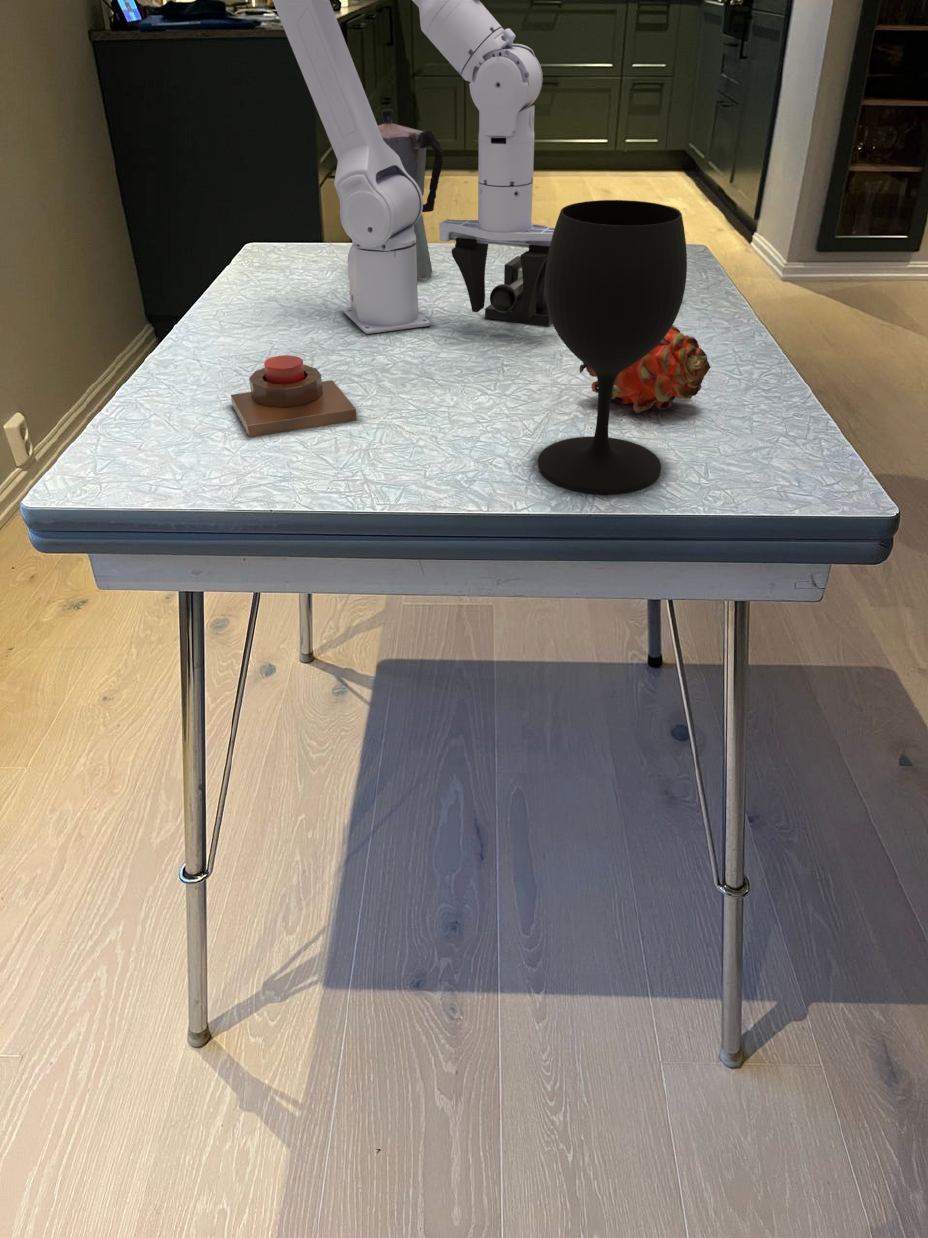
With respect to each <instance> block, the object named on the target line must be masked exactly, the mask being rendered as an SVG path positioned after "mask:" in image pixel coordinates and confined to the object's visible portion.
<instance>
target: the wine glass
mask: <svg viewBox="0 0 928 1238" xmlns="http://www.w3.org/2000/svg"><path fill="white" fill-rule="evenodd" d="M669 206H670V205H665V204H661V203H657V202H656V203H655V202H649V201H641V200H627V199H601V200H600V199H598V200H587V201H580V202H575V203H572V204H568V205H565V206H563V207H562V208H561V209H560V211H559V214H558V217H557V219H556V223H555V226H554V228H555V229H554V232H553V236H552V240H551V243H550V247H549V252H548V257H547V263H546V272H545V296H546V303H547V308H548V312H549V315H550V318H551V321H552V323H551V325H552V326H553V328H554V330H555V332H556V335H558V337H559V338H560V340H561V341H562V342H563V344H564V345H565V346H566V348H568V350H569V351H570V352H571V353H572V354H573V355H574V356H575V357H576V358H577V359H579V360H580V361H581V362H582V364H583V363H585V364H586V365H587V366H588V367H590V368H591V369H592V370H593V371H594V372H595V373H596V376H597V377H596V379H597V380H596V381H598V393H597V412H596V413H597V414H596V422H595V423H596V424H595V431H594V436H577V437H571V438H566V439H562V440H559V441H556V442H554V443H551V444H550V445H548V446H546V447H545V448H544V449H543V450H542V451H541V452H539V455H538V457H537V468H538V470H539V472H540V473H541V474H542V475H543V477H544V478H546V479H547V480H548V481H550V482H551V483H553V484H555V485H558V486H560V487H562V488H565V489H568V490H570V491H571V490H572V491H576V492H581V493H586V494H587V493H588V494H596V495H597V494H598V495H616V494H624V493H630V492H635V491H639V490H641V489H644V488H646V487H648V486H650V485H652V484H653V483H655V481H657V480H658V478H659V477H660V475H661V473H662V463H661V461H660V459H659V457H658V456H657V454H656V453H654V452H653V451H651V450H650V449H648V447H647V448H646V447H645V446H643V445H641V444H638V443H636V442H633V441H630V440H626V439H621V438H616V437H609V424H610V423H609V422H610V411H611V410H610V409H611V403H612V402H611V401H612V398H611V396H612V391H613V386H614V382H615V379H616V377H617V375H618V374H619V373H620V372H621V371H623V370H624V369H626V368H628V367H630V366H631V365H633V364H634V363H636V362H637V361H639V360H640V359H642V358H643V357H645V356H646V355H647V354H648V353H649V352H651V351H652V350H653V349H654V348H655V347H656V346H657V345H658V344H659V343H660V342H661V341H662V339H663V338H664V337H665V336H666V334H667V333H668V332H669V330H670V329H671V327H672V325H673V326H674V323H675V321H676V319H677V317H678V314H679V312H680V309H681V306H682V304H683V300H684V295H685V291H686V283H687V273H688V253H687V240H686V239H687V238H686V232H685V226H684V219H683V214H682V212H681V210H679V209H678V208H677V209H678V210H679V211H678V210H677V209H675V208H676V207H674V208H672V207H673V206H670V207H669Z"/></svg>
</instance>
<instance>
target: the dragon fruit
mask: <svg viewBox="0 0 928 1238" xmlns="http://www.w3.org/2000/svg"><path fill="white" fill-rule="evenodd" d="M711 368H712V366H711V365H710V362H709V361H708V355H707V353H706V352H705V351H704V350H703V348H701V347H700V345H699V342H698V340H697V338H695V337H694V336H689V335H688V334H686V335H685V334H684V333H683V332H681V330H680V329H679V328H678V327H676V326H675V325H674V324H673V325H672V327H671V329H670V330H669V332H668V333H667V334H666V336H665V337H664V338H663V339H662V341H661V342H660V343H659V344H658V345H657V346H656V347H655V348H654V349H653V350H652V351H651V352H649V353H648V354H647V355H646V356H645V357H643V358H642V359H640V360H639V361H637V362H636V363H634V364H633V365H631V366H630V367H628V368H626V369H624V370H623V371H621V372H620V373H619V374H618V375H617V377H616V379H615V382H614V386H613V391H612V396H611V399H612V400H613V399H614V400H616V401H617V402H619V403H620V404H621V405H622V404H623V405H628V404H632V406H633V407H632V409H633V411H634V413H636V414H640V413H642V412H644V411H648V410H650V409H651V408H652V407H653V405H654V406H655V408H657V410H660V411H661V410H668V409H669V408H671V407H672V406H673V404H674V400H675V399H680V400H685V401H686V400H690V399H692V398H693V397H694V396H696V395H697V394H698V393H699V392H700V391H701V389H702V383H703V381H704V379H705V376H707V374H708V372H709V371H710V369H711ZM585 369H586V370H585ZM584 370H585V371H587V373H588V374H589V376H591V377H593V378H597V376H596V373H595V372H594V371H593V370H592V369H591V368H590V367H588V366H587V365H586V364H585V363H583V362H582V364H580V366H579V374H582V373H584ZM591 390H592V392H594V393H595V394H596V395H598V381H597V380H596V381H593V382H592V383H591Z"/></svg>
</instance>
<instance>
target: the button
mask: <svg viewBox="0 0 928 1238" xmlns="http://www.w3.org/2000/svg"><path fill="white" fill-rule="evenodd" d="M303 365H304V360H303V358H301V357H299V356H297V355H289V354H288V355H286V354H285V355H276V356H272V357H269V358H267V359H266V360H265V361H264V362H263V368H265V375H266V381H267V382H269V383H272V384H291V383H297V382H300V381H302V380H304V379H305V375H304V366H303Z"/></svg>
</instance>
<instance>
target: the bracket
mask: <svg viewBox="0 0 928 1238" xmlns="http://www.w3.org/2000/svg"><path fill="white" fill-rule="evenodd" d="M521 267H522V265H521V255H517V256H515V257H514V258H512V259H510V260H509V261H508V262H506V263H505V264H504V267H503V271H504V272H503V273H504V274H503V275H504V277H503V284H507V285H509V286H510V285H511V284H512V283H514V282H515V281H516V280H518V269H520V268H521ZM522 302H523V292H521V293H520V294H519V295H518V296H517V300H516V304H515V306H514V307H513V308H512V309H511V310H510V311H508V312H498V311H496V310H495V309H494V308H493V307H492V305H491V304H489V305H488V306H487V307H484V318H485V319H488V320H495V321H503V322H511V323H519V324H528V325H536V326H543V327H549V326H550V325H552V321H551V318H550V315H549V312H548V308H547V303H546V296H545V277H544V280H543V282H542V285H541V288H540V291H539V294H538V298H537V302H536V306H535V312H534V314H533V315H532V316H531V317H530V318H523V317H522Z"/></svg>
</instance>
